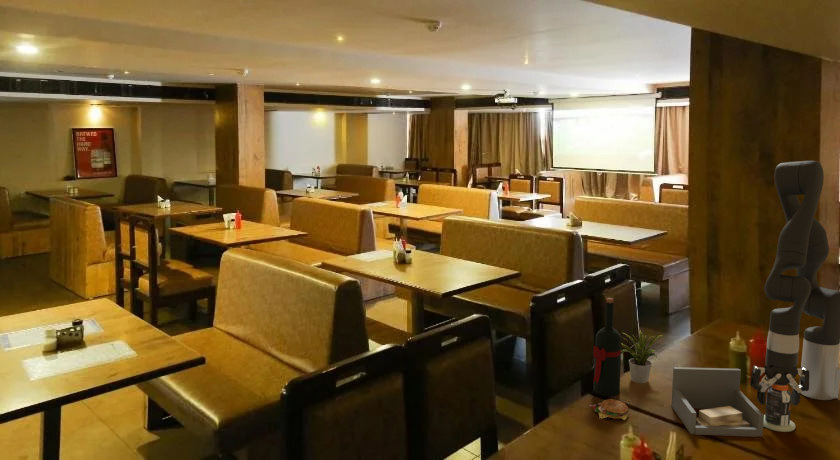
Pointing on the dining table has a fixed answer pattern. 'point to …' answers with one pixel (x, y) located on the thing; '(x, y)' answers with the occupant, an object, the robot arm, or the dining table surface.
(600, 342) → the wine bottle
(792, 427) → the coaster
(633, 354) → the house plant
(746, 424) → the offcut lower
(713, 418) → the offcut upper
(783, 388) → the pill bottle
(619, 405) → the hamburger
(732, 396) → the frame
